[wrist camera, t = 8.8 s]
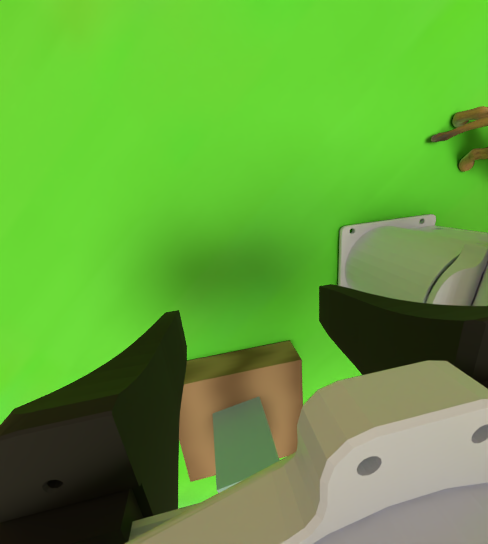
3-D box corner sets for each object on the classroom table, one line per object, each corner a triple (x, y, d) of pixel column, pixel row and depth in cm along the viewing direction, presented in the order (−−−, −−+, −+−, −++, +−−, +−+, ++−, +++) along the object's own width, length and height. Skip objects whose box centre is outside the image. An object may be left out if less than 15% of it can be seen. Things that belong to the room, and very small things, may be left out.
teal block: (259, 396, 22) (279, 465, 16) (270, 429, 24) (292, 502, 18) (212, 413, 22) (217, 490, 16) (226, 445, 23) (235, 525, 18)
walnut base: (289, 340, 24) (301, 359, 22) (293, 426, 28) (304, 451, 26) (169, 364, 23) (165, 388, 20) (191, 451, 27) (190, 481, 24)
